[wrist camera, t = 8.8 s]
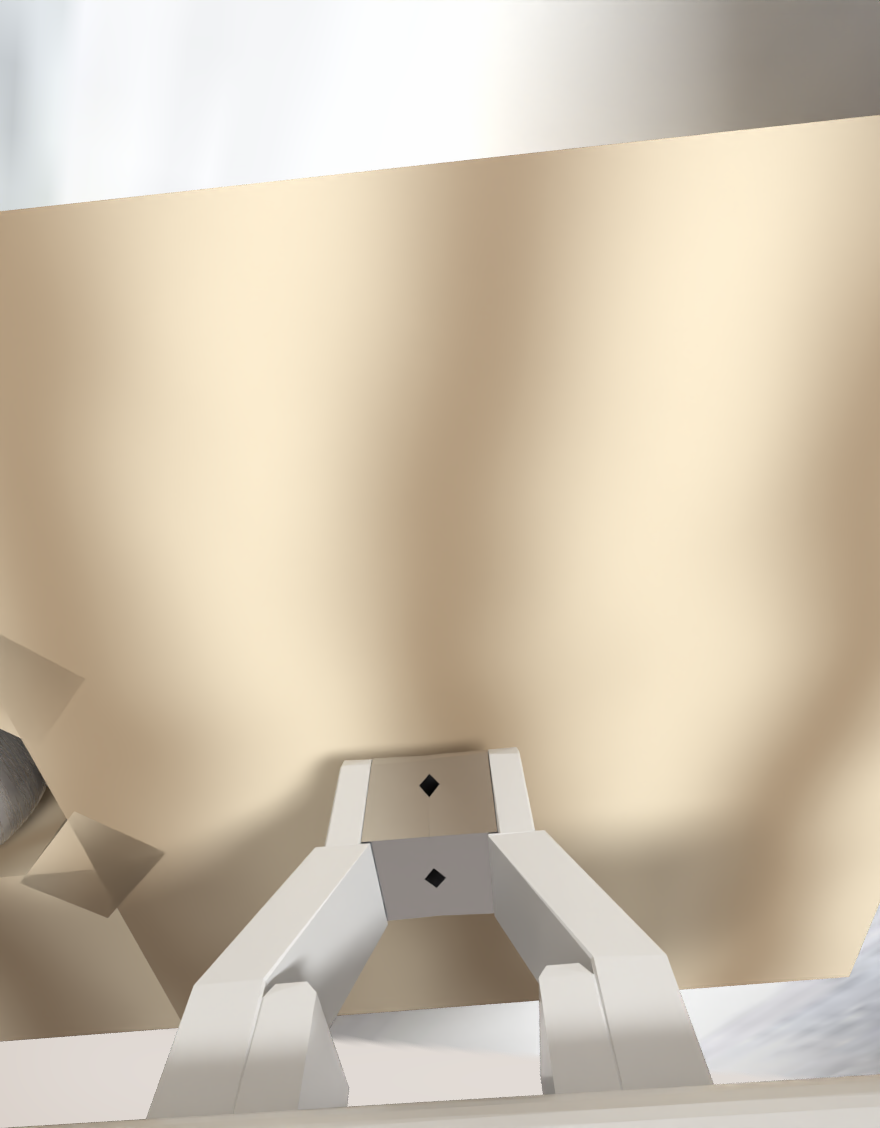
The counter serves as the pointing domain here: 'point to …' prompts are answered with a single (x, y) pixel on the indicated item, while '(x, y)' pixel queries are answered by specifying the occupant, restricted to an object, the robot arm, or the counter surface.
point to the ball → (17, 784)
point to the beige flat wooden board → (445, 552)
